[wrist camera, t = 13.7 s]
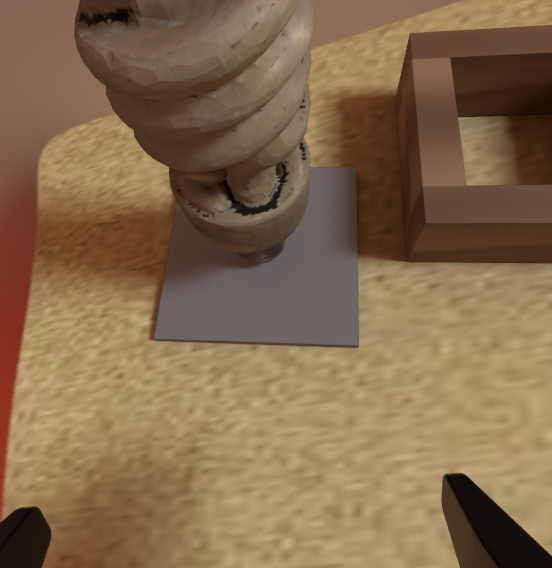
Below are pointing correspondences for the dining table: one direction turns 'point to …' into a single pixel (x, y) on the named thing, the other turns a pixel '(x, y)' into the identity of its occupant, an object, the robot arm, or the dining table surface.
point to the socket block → (448, 151)
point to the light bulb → (214, 106)
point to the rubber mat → (270, 279)
